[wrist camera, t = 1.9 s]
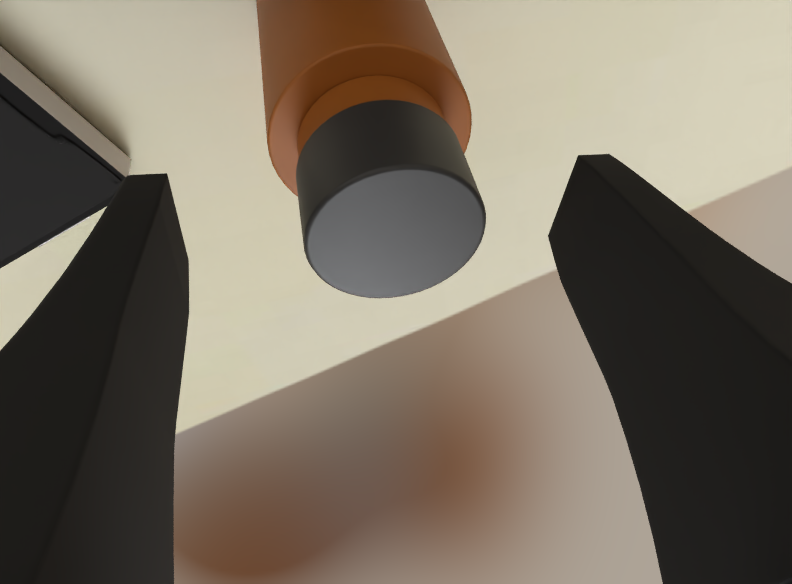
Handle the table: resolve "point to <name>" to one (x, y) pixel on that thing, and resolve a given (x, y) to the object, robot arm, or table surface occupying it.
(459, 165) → the spice bottle
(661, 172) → the table surface
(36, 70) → the table surface
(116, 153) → the smartphone
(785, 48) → the table surface
